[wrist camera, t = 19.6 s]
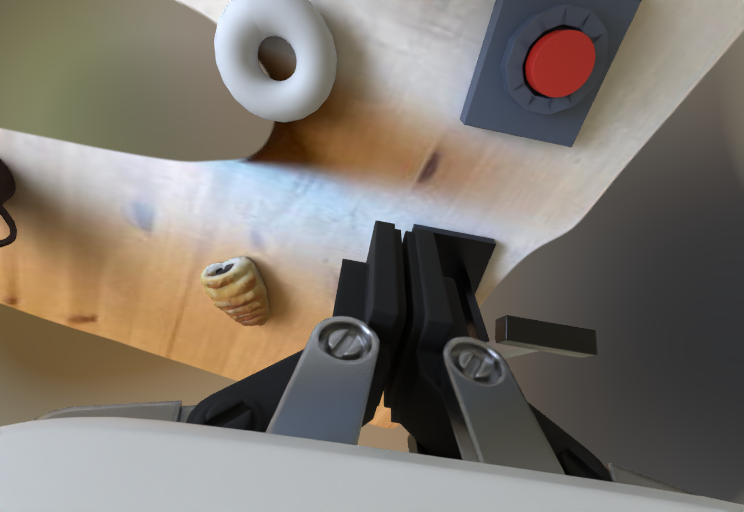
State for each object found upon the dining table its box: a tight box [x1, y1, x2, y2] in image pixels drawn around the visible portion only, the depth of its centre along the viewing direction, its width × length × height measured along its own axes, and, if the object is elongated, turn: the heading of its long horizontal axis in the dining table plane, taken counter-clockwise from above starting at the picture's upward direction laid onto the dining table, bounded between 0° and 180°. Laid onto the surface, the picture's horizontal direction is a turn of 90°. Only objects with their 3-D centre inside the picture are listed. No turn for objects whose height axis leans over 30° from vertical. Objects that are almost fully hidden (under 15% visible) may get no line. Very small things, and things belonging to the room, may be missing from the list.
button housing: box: [460, 0, 641, 147], centre depth 30 cm, size 12×10×4 cm
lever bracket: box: [412, 224, 496, 342], centre depth 38 cm, size 12×9×15 cm
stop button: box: [525, 30, 595, 97], centre depth 28 cm, size 4×4×2 cm
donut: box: [214, 0, 337, 122], centre depth 31 cm, size 10×3×10 cm
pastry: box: [200, 257, 270, 326], centre depth 44 cm, size 9×7×4 cm
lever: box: [486, 315, 597, 358], centre depth 27 cm, size 16×5×2 cm
